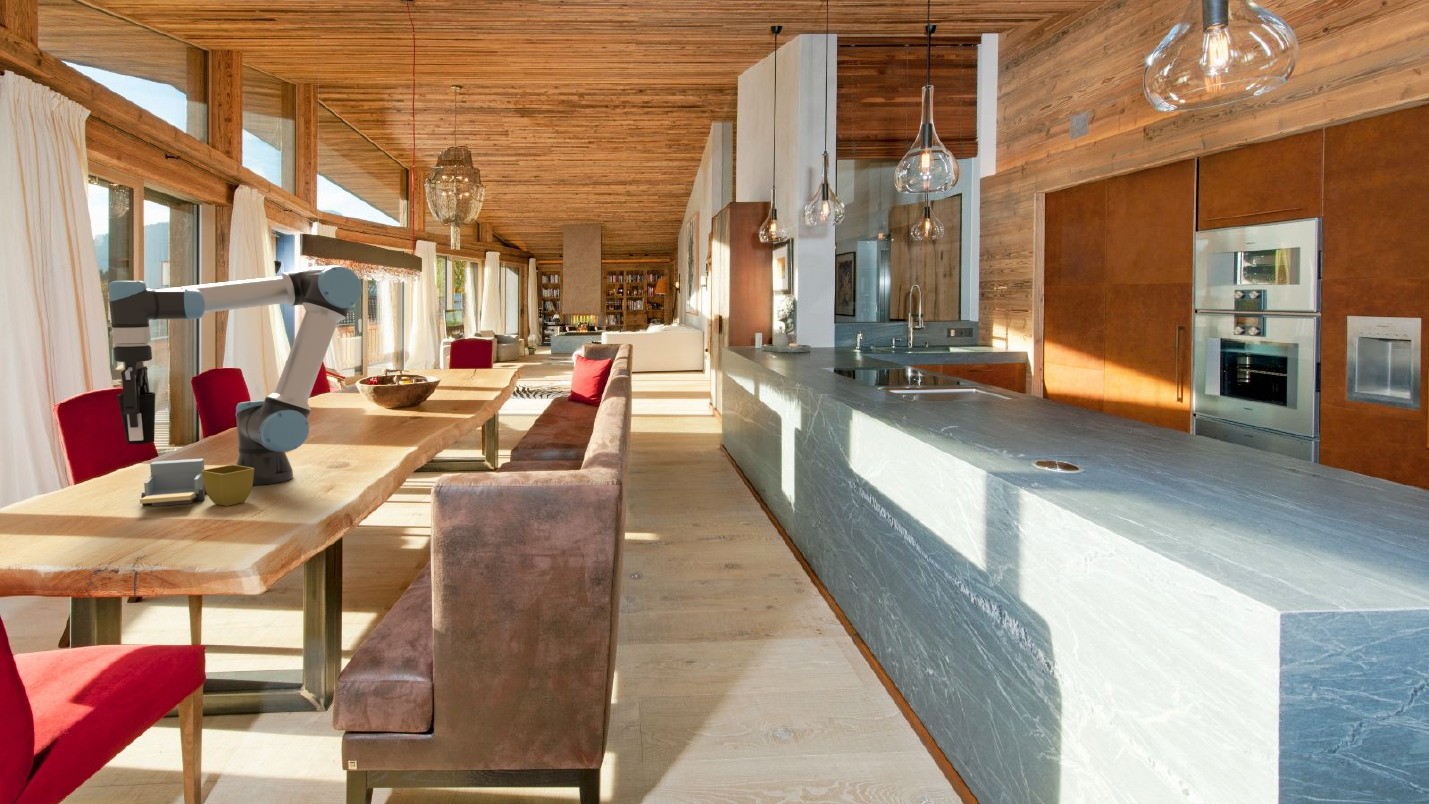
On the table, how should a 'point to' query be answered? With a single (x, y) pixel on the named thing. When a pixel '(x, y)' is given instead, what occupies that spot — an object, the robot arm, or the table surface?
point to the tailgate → (168, 497)
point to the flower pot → (228, 484)
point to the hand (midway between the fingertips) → (140, 437)
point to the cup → (146, 414)
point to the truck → (175, 480)
